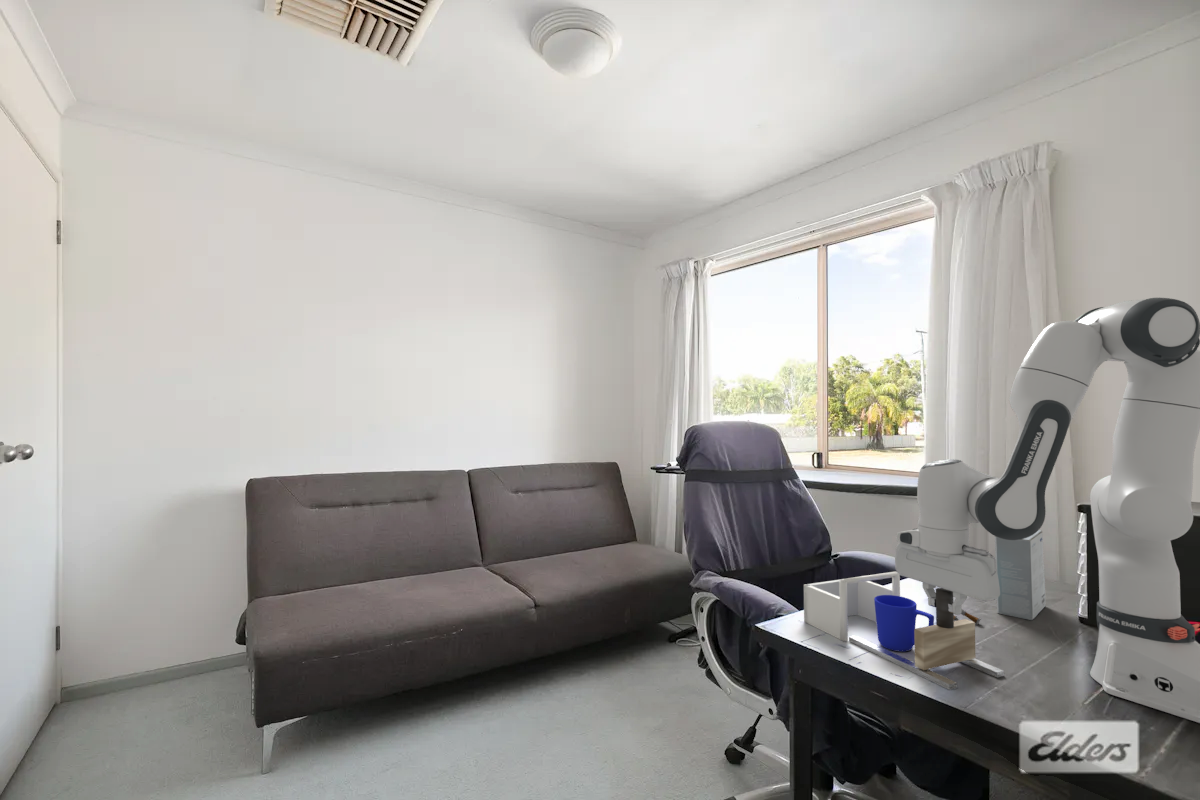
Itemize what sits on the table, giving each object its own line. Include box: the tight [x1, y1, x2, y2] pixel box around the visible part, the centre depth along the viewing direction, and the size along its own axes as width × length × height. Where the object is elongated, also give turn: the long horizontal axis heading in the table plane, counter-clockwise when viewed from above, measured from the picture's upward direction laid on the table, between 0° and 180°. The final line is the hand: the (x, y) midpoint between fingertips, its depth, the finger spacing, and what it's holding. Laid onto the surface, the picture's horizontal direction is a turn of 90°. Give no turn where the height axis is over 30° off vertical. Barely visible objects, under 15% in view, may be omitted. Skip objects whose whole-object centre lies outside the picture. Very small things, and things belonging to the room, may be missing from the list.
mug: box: [874, 595, 935, 652], centre depth 122 cm, size 8×12×10 cm
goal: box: [803, 571, 901, 642], centre depth 136 cm, size 13×18×14 cm
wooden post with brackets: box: [954, 608, 982, 627], centre depth 139 cm, size 2×8×4 cm, turn 45°
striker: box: [914, 587, 976, 670], centre depth 113 cm, size 3×14×14 cm, turn 111°
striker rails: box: [848, 635, 1005, 691], centre depth 118 cm, size 24×15×1 cm, turn 21°
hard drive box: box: [994, 529, 1047, 621], centre depth 147 cm, size 16×8×20 cm, turn 132°
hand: (944, 609), depth 113 cm, fingers closed on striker, 3 cm apart
